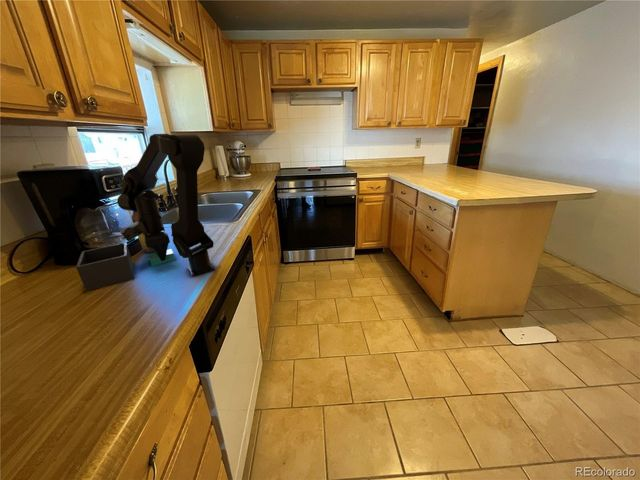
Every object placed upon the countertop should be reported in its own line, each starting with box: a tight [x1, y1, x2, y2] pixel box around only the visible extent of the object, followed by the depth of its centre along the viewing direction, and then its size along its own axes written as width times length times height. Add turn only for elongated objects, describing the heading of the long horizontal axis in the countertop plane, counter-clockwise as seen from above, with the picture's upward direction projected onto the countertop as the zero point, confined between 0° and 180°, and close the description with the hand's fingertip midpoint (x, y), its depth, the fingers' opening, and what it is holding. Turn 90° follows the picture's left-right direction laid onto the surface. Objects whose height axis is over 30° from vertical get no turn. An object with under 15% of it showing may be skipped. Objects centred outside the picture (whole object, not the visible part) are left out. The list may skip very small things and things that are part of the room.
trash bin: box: [75, 242, 135, 292], centre depth 79 cm, size 13×11×8 cm
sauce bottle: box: [131, 211, 156, 254], centre depth 95 cm, size 7×6×20 cm
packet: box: [148, 248, 176, 267], centre depth 89 cm, size 7×5×2 cm
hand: (161, 257), depth 89 cm, fingers open, 7 cm apart
